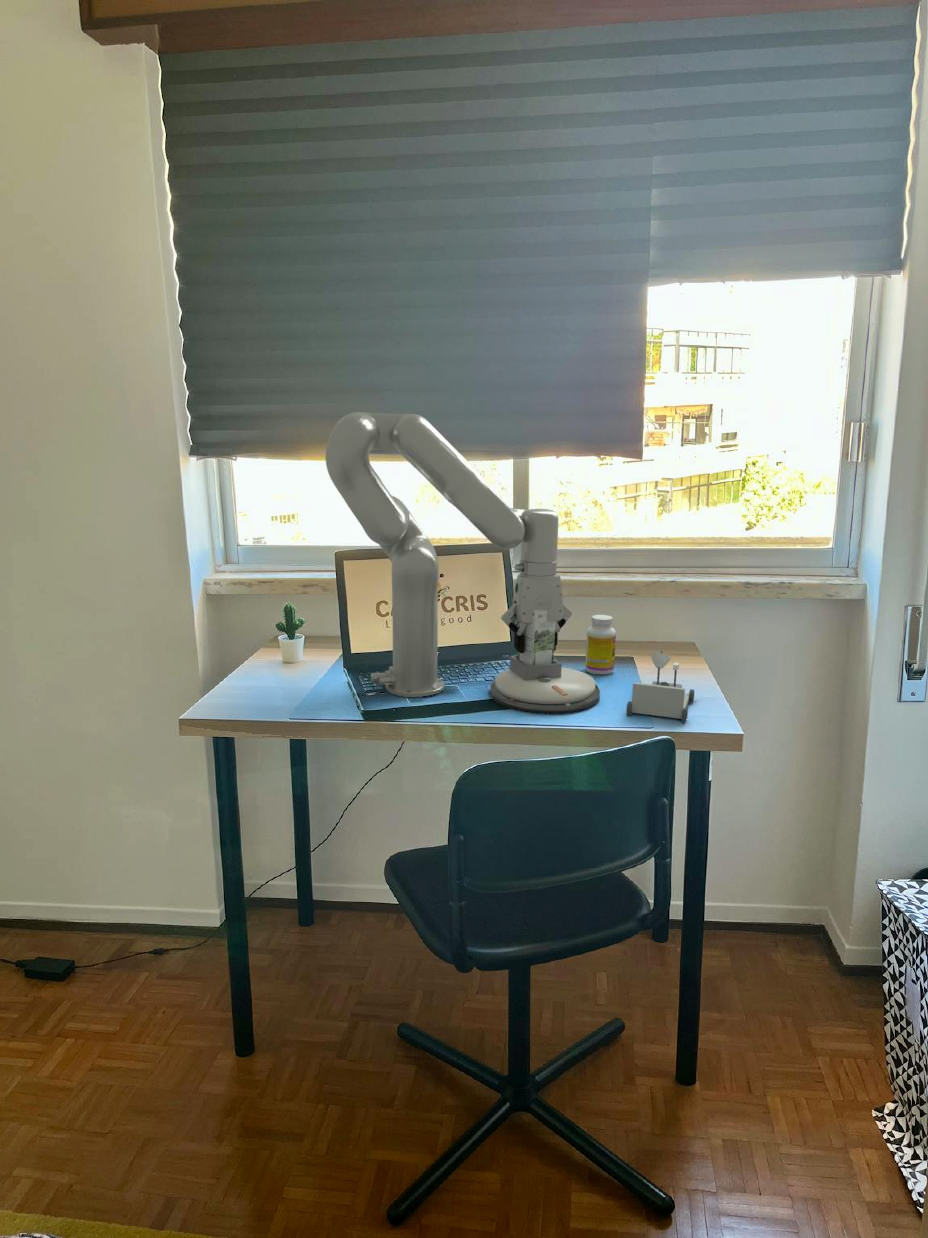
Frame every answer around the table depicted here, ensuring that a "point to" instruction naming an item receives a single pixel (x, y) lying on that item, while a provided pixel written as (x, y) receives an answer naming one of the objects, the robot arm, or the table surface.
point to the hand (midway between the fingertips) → (535, 649)
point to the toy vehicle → (660, 695)
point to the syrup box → (538, 640)
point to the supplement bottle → (600, 646)
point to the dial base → (545, 708)
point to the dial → (544, 683)
